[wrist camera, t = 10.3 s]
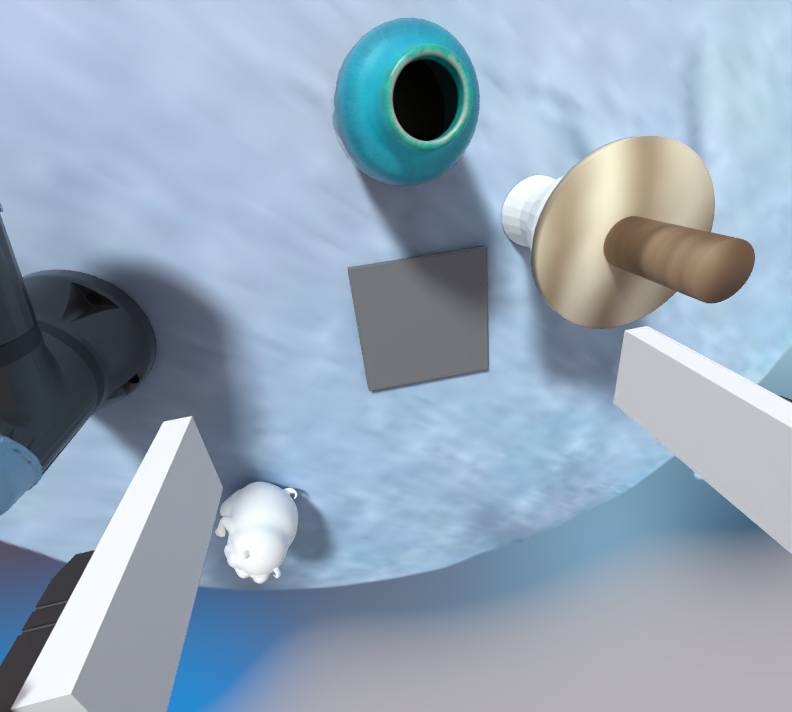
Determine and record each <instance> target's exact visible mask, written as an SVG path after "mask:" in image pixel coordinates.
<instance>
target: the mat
mask: <svg viewBox="0 0 792 712" xmlns="http://www.w3.org/2000/svg"><path fill="white" fill-rule="evenodd" d="M348 273H349V279H350V285H351V291H352V297H353V302H354V308H355V314H356V320H357V326H358V331H359V337H360V343H361V349H362V355H363V360H364V366H365V372H366V378H367V384H368V389H369V391H372V390H377V389H383V388H388V387H393V386H399V385H404V384H409V383H415V382H420V381H425V380H431V379H436V378H441V377H447V376H452V375H457V374H463V373H468V372H473V371H479V370H484V369H488V321H487V248H486V247H484V246H482V247H475V248H469V249H463V250H456V251H450V252H444V253H437V254H431V255H425V256H418V257H412V258H406V259H399V260H393V261H387V262H380V263H374V264H368V265H361V266H355V267H349V268H348Z"/></svg>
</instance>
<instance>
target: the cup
mask: <svg viewBox="0 0 792 712" xmlns="http://www.w3.org/2000/svg"><path fill="white" fill-rule="evenodd" d="M564 176H565V175H564ZM564 176H562V177H560V178H558V179H556V180H555V179H553V178H551V177H548V176H542V175H536V176H531V177H528V178H526V179H524V180H522V181H521V182H519V183H518V184H517V185H516V186H515V187H514V188H513V189H512V190H511V192H510V193H509V194H508V196H507V198H506V200H505V202H504V205H503V210H502V225H503V228H504V231H505V233H506V234H507V236H508V237H509V239H511V240H512V241H513V242H514V243H516V244H519V245H521V246H525V247H529V248H530V252H531V250H532V241H533V236H534V232H535V227H536V224H537V222H538V219H539V216H540V213H541V211H542V209H543V207H544V205H545V203H546V201H547V199H548V198H549V196H550V194H551V193H552V191H553V190H554V188H555V187H556V186H557V184H558V183H559V182H560V180H561V179H562V178H563V177H564Z"/></svg>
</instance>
